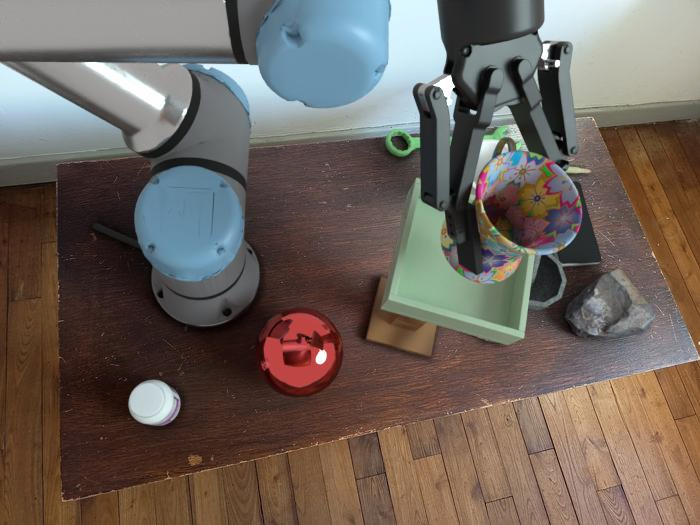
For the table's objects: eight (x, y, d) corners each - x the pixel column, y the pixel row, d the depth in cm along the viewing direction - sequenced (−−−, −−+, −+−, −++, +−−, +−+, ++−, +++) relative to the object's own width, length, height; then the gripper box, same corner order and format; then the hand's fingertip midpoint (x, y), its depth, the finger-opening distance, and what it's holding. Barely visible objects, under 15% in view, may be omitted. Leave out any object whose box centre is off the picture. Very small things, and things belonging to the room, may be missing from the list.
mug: (527, 290, 53) (592, 255, 43) (437, 290, 51) (484, 252, 41) (510, 181, 57) (566, 125, 47) (426, 177, 55) (466, 118, 45)
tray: (380, 309, 57) (387, 299, 53) (407, 193, 62) (416, 177, 58) (508, 345, 58) (524, 338, 54) (524, 228, 63) (540, 214, 59)
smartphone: (559, 265, 88) (538, 183, 92) (555, 267, 89) (535, 186, 93) (603, 261, 89) (580, 181, 94) (599, 264, 90) (576, 184, 95)
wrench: (520, 122, 95) (526, 149, 94) (515, 128, 97) (521, 154, 96) (384, 126, 91) (388, 154, 89) (381, 132, 93) (386, 160, 91)
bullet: (549, 172, 95) (591, 175, 96) (552, 166, 94) (593, 169, 95) (547, 169, 96) (588, 172, 97) (549, 163, 95) (591, 167, 96)
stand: (364, 339, 80) (404, 295, 58) (379, 278, 84) (422, 214, 61) (428, 357, 81) (491, 320, 58) (440, 296, 84) (504, 239, 62)
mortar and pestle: (550, 313, 86) (593, 292, 75) (497, 322, 84) (533, 302, 73) (530, 248, 89) (568, 219, 78) (478, 256, 88) (510, 227, 76)
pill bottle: (133, 398, 72) (114, 391, 63) (170, 378, 74) (157, 368, 65) (150, 434, 71) (134, 431, 62) (187, 413, 73) (177, 407, 64)
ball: (251, 400, 75) (248, 390, 63) (258, 316, 79) (257, 293, 68) (336, 403, 76) (348, 394, 65) (339, 321, 80) (351, 299, 69)
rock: (603, 263, 91) (623, 252, 86) (654, 312, 89) (678, 303, 84) (553, 318, 86) (571, 310, 81) (606, 371, 84) (628, 365, 79)
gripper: (559, -47, 44) (561, 201, 56) (340, 14, 39) (392, 277, 50) (637, -57, 38) (622, 224, 49) (390, 13, 33) (437, 313, 44)
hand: (507, 250), depth 50 cm, fingers closed on mug, 7 cm apart
